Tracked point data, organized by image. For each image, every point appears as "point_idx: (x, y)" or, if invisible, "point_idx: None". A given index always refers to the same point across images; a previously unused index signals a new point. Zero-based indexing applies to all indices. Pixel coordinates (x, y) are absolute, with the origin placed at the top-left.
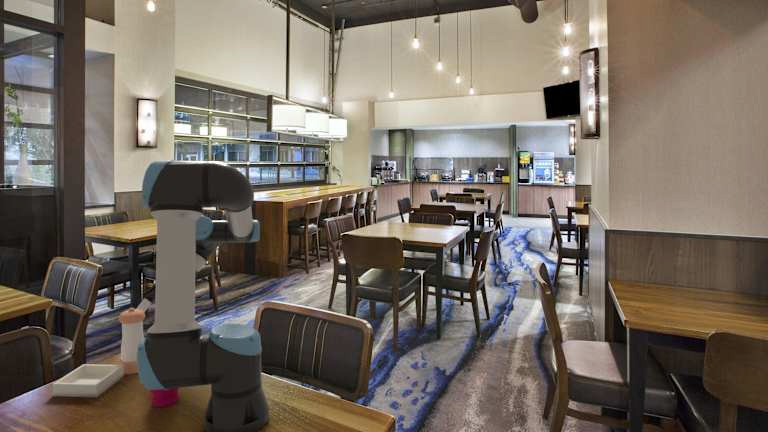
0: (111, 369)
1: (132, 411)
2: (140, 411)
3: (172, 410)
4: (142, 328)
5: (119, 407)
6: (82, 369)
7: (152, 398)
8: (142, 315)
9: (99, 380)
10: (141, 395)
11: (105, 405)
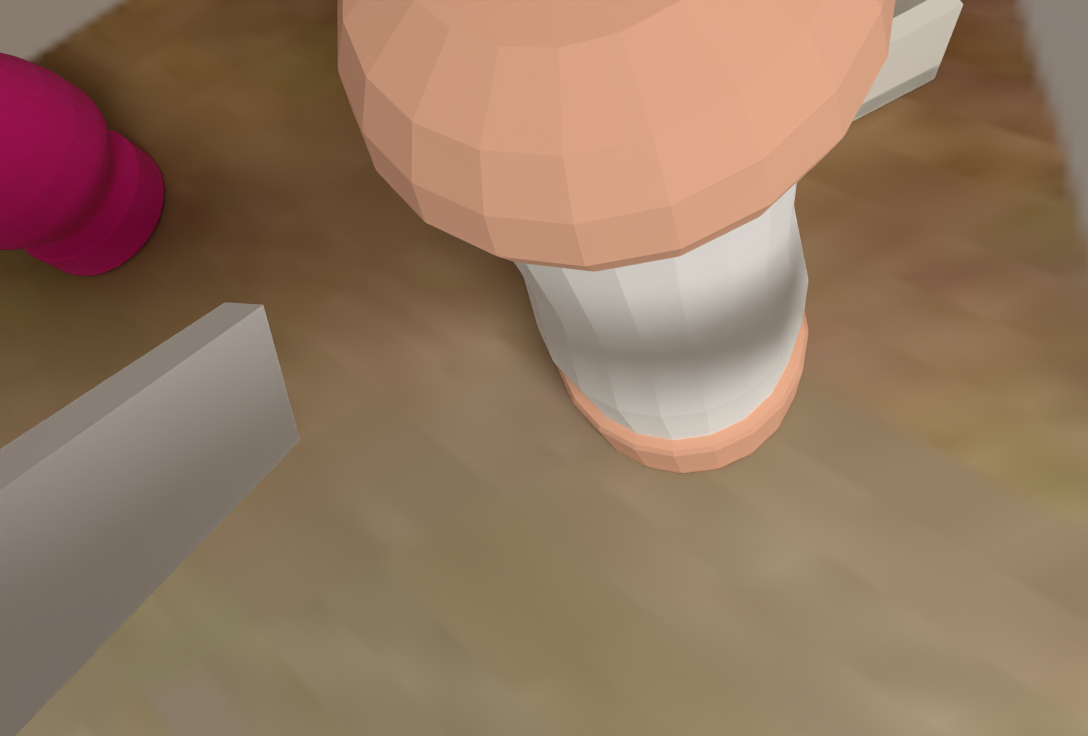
0: None
1: (189, 64)
2: (153, 87)
3: None
4: (522, 268)
5: (280, 43)
6: (905, 2)
7: (111, 131)
8: (349, 95)
9: None
10: (275, 171)
11: None
